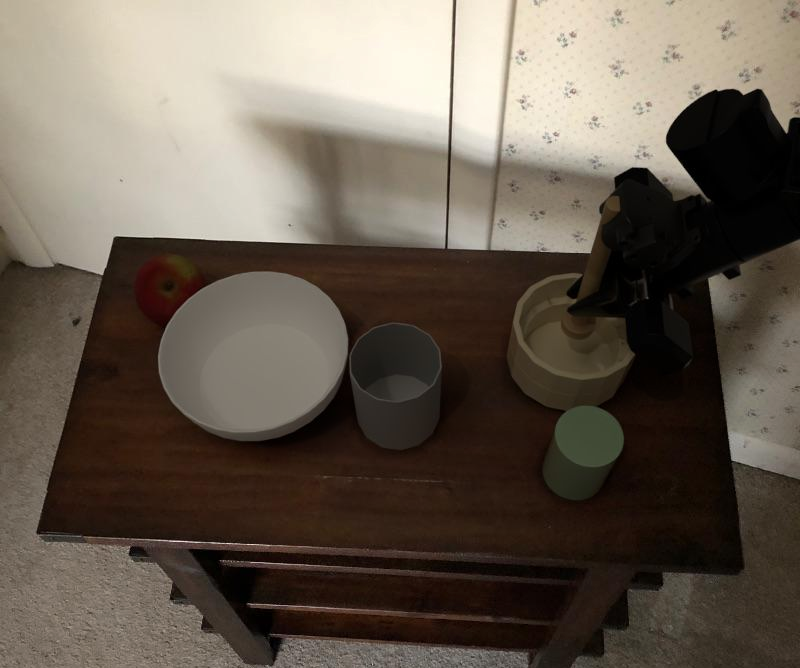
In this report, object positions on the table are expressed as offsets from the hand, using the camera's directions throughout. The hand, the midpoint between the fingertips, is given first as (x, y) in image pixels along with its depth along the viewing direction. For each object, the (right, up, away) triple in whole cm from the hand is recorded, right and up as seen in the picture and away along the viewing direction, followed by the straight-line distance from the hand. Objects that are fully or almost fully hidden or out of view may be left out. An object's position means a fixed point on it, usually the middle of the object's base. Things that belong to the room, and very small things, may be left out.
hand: (569, 304), depth 71 cm
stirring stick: (+1, -2, +3) cm, 4 cm away
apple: (-40, 0, +13) cm, 42 cm away
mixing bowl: (+2, -5, +9) cm, 10 cm away
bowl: (-30, -7, +9) cm, 32 cm away
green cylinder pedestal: (+1, -16, +3) cm, 16 cm away
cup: (-16, -10, +7) cm, 20 cm away
